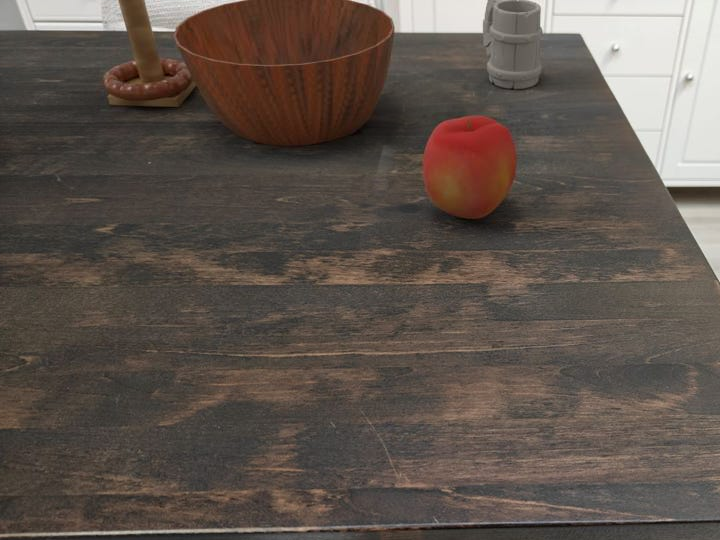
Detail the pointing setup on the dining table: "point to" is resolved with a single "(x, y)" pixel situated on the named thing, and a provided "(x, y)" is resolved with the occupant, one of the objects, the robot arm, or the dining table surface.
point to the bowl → (289, 66)
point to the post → (145, 56)
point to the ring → (150, 90)
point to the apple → (469, 166)
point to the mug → (513, 42)
